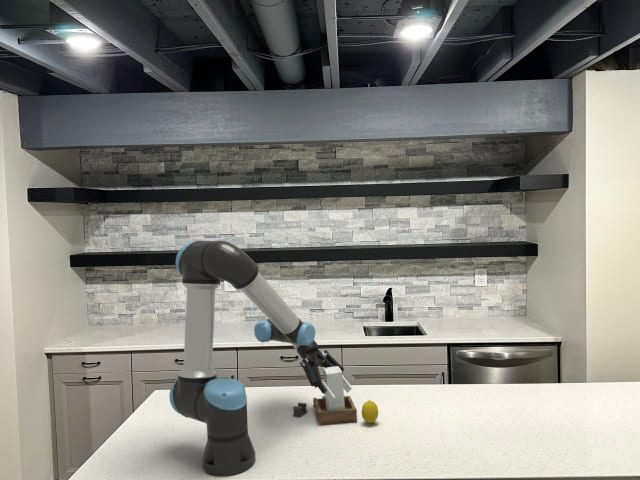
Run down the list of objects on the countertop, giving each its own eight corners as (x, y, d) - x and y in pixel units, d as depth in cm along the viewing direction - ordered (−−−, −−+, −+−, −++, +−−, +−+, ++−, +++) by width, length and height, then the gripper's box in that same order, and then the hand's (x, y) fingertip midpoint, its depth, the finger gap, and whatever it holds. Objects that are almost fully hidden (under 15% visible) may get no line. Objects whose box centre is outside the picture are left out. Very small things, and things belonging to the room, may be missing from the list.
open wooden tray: (357, 422, 168) (356, 409, 168) (319, 426, 166) (318, 412, 166) (350, 408, 181) (349, 395, 181) (315, 411, 179) (314, 399, 179)
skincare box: (345, 415, 170) (343, 372, 169) (328, 416, 169) (326, 373, 168) (341, 405, 178) (339, 365, 177) (324, 407, 177) (322, 366, 177)
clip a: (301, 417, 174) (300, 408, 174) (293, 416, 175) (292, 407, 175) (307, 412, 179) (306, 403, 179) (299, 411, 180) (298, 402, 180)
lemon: (382, 423, 166) (381, 399, 166) (372, 428, 162) (370, 404, 162) (368, 419, 170) (367, 396, 170) (358, 424, 166) (357, 401, 166)
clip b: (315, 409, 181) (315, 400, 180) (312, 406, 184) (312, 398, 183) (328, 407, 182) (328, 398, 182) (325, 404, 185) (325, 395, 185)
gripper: (318, 343, 191) (353, 391, 182) (278, 357, 173) (315, 411, 164) (328, 331, 187) (365, 379, 178) (289, 344, 170) (327, 398, 161)
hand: (341, 394), depth 171 cm, fingers open, 10 cm apart
